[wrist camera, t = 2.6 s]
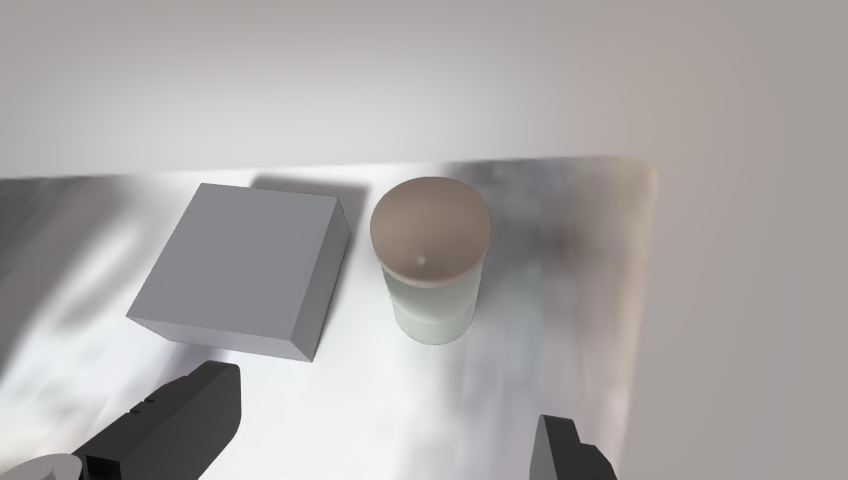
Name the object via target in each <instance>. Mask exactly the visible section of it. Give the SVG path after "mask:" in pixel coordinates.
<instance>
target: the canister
mask: <svg viewBox="0 0 848 480" xmlns="http://www.w3.org/2000/svg"><path fill="white" fill-rule="evenodd" d="M491 231H492V222H491V216H490V213H489V210H488V208H487V206H486V204H485V203H484V201H483V200H482V198H481V197H480V196H479V195H478V194H477V193H476V192H475V191H474V190H472V189H471V188H469V187H468V186H466V185H464V184H462V183H460V182H458V181H455V180H452V179H448V178H443V177H421V178H416V179H412V180H409V181H406V182H403V183H401V184H399V185H397V186H396V187H394V188H393V189H391V190H390V191H389V192H388V193H386V194H385V195H384V196H383V197H382V198H381V200H380V201H379V202H378V204H377V205H376V207H375V209H374V211H373V214H372V217H371V222H370V234H371V239H372V242H373V246H374V249H375V253H376V256H377V258H378V260H379V262H380V263H381V266H382V270H383V274H384V277H385V281H386V284H387V288H388V292H389V295H390V299H391V303H392V306H393V310H394V313H395V317H396V320H397V322H398V324H399V326H400V328H401V329H402V330H403V331H404V333H406V334H407V335H408V336H409V337H410V338H412V339H413V340H415V341H417V342H420V343H423V344H428V345H441V344H446V343H449V342H451V341H454V340H456V339H457V338H459V337H460V336H461V335H462V334H464V333H465V332H466V330H467V329H468V328H469V326H470V325H471V323H472V321H473V318H474V314H475V308H476V302H477V297H478V291H479V285H480V280H481V274H482V268H483V263H484V258H485V257H486V254H487V251H488V248H489V242H490V237H491Z"/></svg>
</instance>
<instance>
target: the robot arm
mask: <svg viewBox="0 0 848 480" xmlns="http://www.w3.org/2000/svg"><path fill="white" fill-rule="evenodd" d="M240 420H241V380H240V369H239V367H238V365H236V364H230V363H224V362H218V361H212V360H209V361H206V362H204V363H203V364H202V365H200V366H199V367H198V368H197V369H195V370H194V371H193V372H191V373H190V374H189V375H188V376H183V377H181V378H178V379H176V380H174V381H172V382H169V383H167V384H165V385H163V386H161V387H160V388H159V389H157V390H156V391H155V392H153V393H152V394H151V395H149V396H148V397H147V398H145V400H144V402H142V401H141V402H140V403H138V404H137V405H136V406H134V407H133V408H132V409H130V412H129V413H125V414H124V415H122V416H121V417H120V418H118V419H117V420H116V421H114V422H113V423H112V424H110V425H109V426H108V427H106V428H105V429H104V430H102V431H101V432H100V433H98V434H97V435H96V436H94V437H93V438H92V439H90V440H89V441H88V442H86V443H85V444H84V445H82V446H81V447H80V448H78V449H77V450H76V451H74V452H73V453H72V454H51V455H46V456H42V457H38V458H35V459H32V460H29V461H27V462H25V463H22V464H20V465H18V466H16V467H14V468H12V469H10V470H9V471H7V472H5V473H4V474H2V475H1V476H0V480H198V479H199V477H200V476H201V475H202V474H203V473H204V472H205V470H206V469H207V468H208V467H209V466H210V465H211V463H212V462H213V461H214V460H215V459H216V458H217V456H218V455H219V454H220V453H221V452H222V451H223V449H224V448H225V447H226V446H227V445H228V443H229V442H230V441H231V440H232V439H233V437H234V436H235V434H236V432H237V430H238V427H239V424H240ZM529 480H617V478H616V475H615V473H614V470H613V468H612V465H611V463H610V462H609V461H608V460H607V459H606V458H605V456H604V455H603V454H602V453H601V452H600V451H599V450H598V448H597V447H596V446H595V445H589V444H583V443H580V439H579V436H578V433H577V430H576V427H575V424H574V422H573V420H572V419H567V418H561V417H555V416H549V415H542V414H541V415H540V417H539V420H538V426H537V431H536V437H535V443H534V449H533V454H532V460H531V466H530V478H529Z"/></svg>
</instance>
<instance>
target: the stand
mask: <svg viewBox="0 0 848 480" xmlns="http://www.w3.org/2000/svg"><path fill="white" fill-rule="evenodd" d="M350 233H351V232H350V229H349V226H348V224H347V221H346V218H345V215H344V212H343V210H342V207H341V204H340V201H339V198H338V197H334V196H325V195H315V194H305V193H296V192H286V191H276V190H266V189H257V188H247V187H237V186H227V185H218V184H208V183H201V184H200V186H199V188H198V189H197V191H196V193H195V195H194V196H193V198H192V200H191V202H190V203H189V205H188V207H187V209H186V210H185V212H184V214H183V216H182V218H181V219H180V221H179V223H178V225H177V226H176V228H175V230H174V232H173V233H172V235H171V237H170V239H169V240H168V242H167V244H166V246H165V247H164V249H163V251H162V253H161V254H160V256H159V258H158V260H157V261H156V263H155V265H154V267H153V269H152V270H151V272H150V274H149V276H148V277H147V279H146V281H145V283H144V284H143V286H142V288H141V290H140V291H139V293H138V295H137V297H136V298H135V300H134V302H133V304H132V305H131V307H130V309H129V311H128V312H127V314H126V317H127V318H129V319H131V320H133V321H135V322H136V323H138V324H140V325H142V326H144V327H146V328H147V329H149V330H151V331H153V332H155V333H157V334H158V335H160V336H162V337H164V338H166V339H167V340H169V341H175V342H182V343H188V344H195V345H201V346H208V347H215V348H221V349H228V350H234V351H241V352H247V353H254V354H260V355H267V356H273V357H280V358H287V359H293V360H300V361H306V362H312V361H313V357H314V354H315V351H316V347H317V344H318V341H319V337H320V334H321V330H322V327H323V324H324V320H325V317H326V314H327V310H328V307H329V304H330V300H331V297H332V294H333V290H334V287H335V283H336V280H337V277H338V273H339V270H340V267H341V263H342V260H343V257H344V253H345V250H346V247H347V243H348V240H349V236H350Z"/></svg>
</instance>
